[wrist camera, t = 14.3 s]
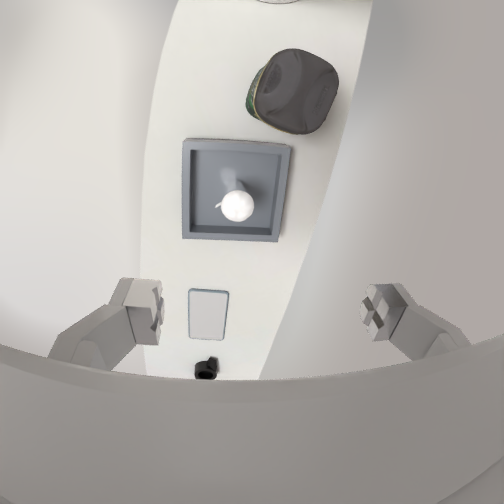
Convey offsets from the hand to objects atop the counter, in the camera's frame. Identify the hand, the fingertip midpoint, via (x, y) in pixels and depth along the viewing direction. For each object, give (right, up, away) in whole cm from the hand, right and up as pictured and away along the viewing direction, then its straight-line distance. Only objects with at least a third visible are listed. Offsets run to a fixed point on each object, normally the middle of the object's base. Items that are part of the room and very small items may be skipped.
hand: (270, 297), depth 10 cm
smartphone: (-11, -12, +50) cm, 52 cm away
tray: (-4, +13, +35) cm, 38 cm away
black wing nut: (-13, -29, +59) cm, 67 cm away
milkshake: (-4, +12, +35) cm, 37 cm away
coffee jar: (+2, +26, +28) cm, 39 cm away
